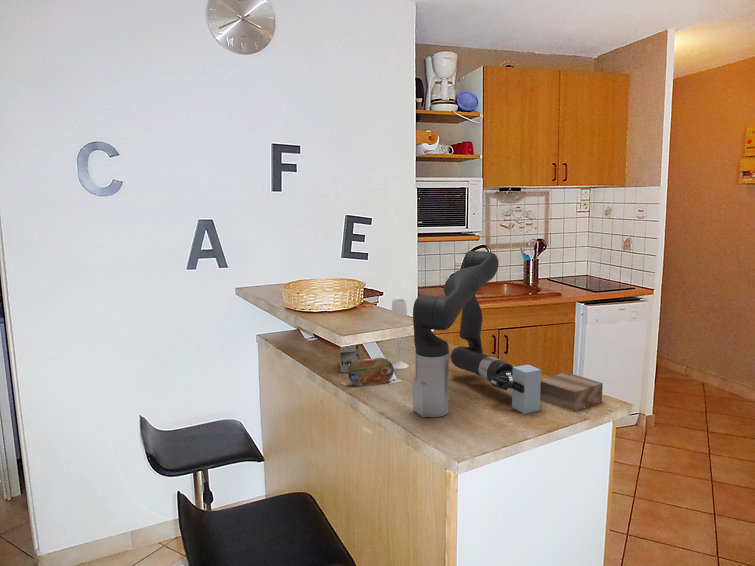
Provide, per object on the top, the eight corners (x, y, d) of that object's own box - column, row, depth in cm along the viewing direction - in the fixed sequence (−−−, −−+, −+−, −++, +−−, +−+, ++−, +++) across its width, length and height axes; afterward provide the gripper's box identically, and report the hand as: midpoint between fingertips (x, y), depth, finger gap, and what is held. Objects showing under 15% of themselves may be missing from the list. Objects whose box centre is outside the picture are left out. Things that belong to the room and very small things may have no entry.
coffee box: (358, 372, 198) (357, 327, 196) (340, 372, 198) (339, 327, 196) (360, 364, 207) (359, 321, 205) (342, 364, 207) (341, 321, 205)
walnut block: (574, 412, 161) (575, 392, 160) (537, 399, 171) (537, 380, 170) (601, 402, 168) (602, 383, 167) (564, 390, 178) (565, 372, 178)
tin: (349, 387, 183) (348, 362, 182) (347, 384, 186) (346, 359, 185) (394, 382, 187) (393, 358, 186) (391, 380, 190) (390, 355, 189)
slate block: (524, 413, 159) (525, 372, 158) (511, 407, 164) (512, 367, 163) (539, 410, 162) (540, 369, 160) (527, 404, 167) (528, 364, 165)
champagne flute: (412, 365, 205) (412, 300, 202) (400, 369, 201) (399, 302, 197) (398, 362, 210) (398, 297, 206) (386, 366, 205) (385, 300, 201)
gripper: (476, 362, 171) (511, 378, 156) (515, 356, 177) (553, 371, 162) (476, 386, 173) (511, 404, 157) (515, 379, 178) (552, 396, 163)
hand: (532, 387), depth 160 cm, fingers closed on slate block, 5 cm apart
